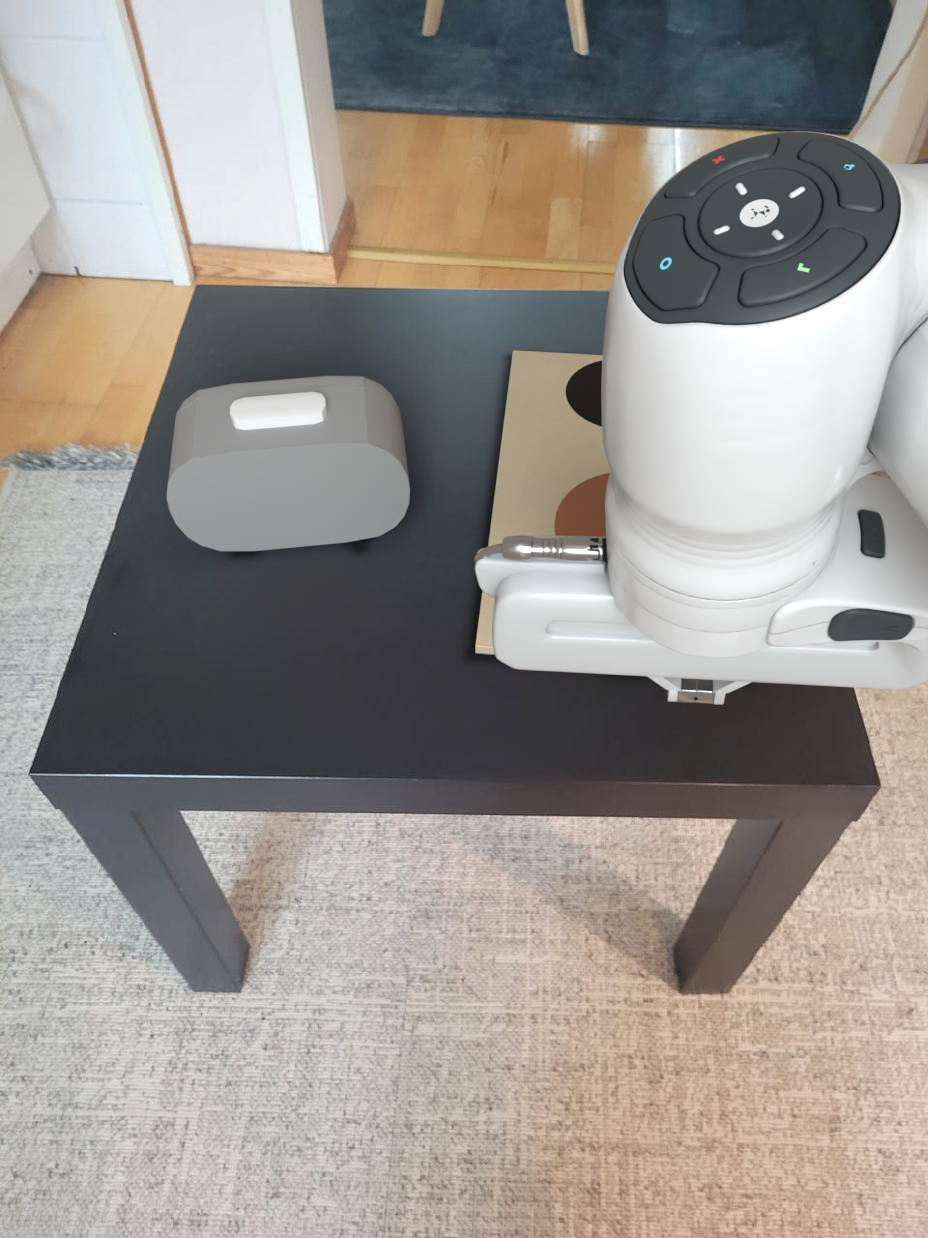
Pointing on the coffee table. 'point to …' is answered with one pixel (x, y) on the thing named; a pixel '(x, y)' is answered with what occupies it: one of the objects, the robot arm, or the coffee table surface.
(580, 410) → the burner
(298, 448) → the alarm clock
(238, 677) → the coffee table surface
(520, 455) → the hob
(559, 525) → the pot
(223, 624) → the coffee table surface
